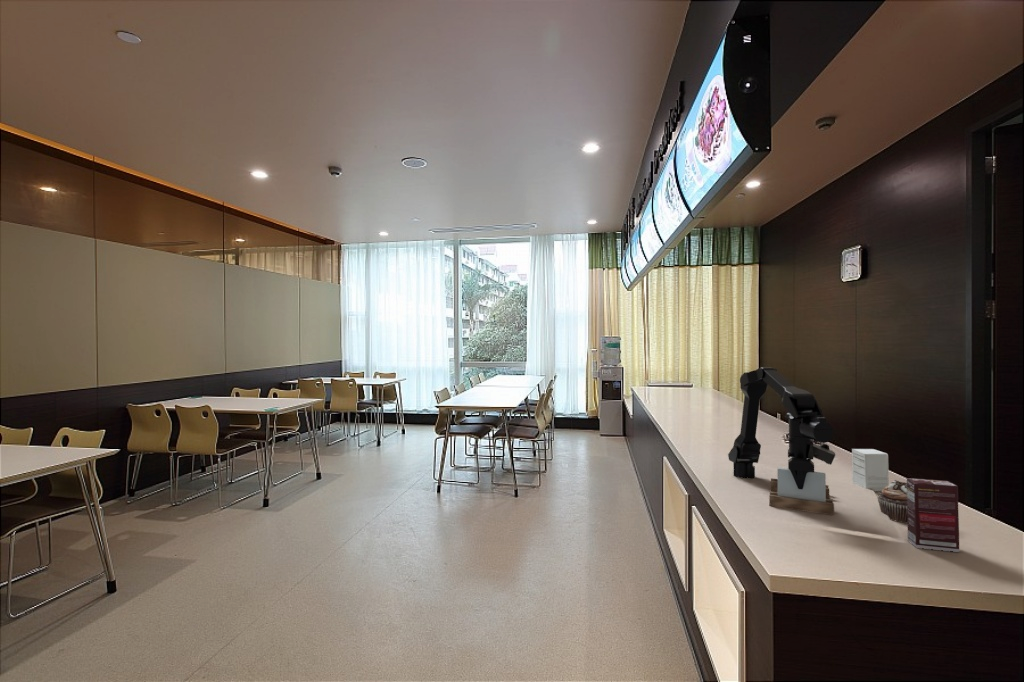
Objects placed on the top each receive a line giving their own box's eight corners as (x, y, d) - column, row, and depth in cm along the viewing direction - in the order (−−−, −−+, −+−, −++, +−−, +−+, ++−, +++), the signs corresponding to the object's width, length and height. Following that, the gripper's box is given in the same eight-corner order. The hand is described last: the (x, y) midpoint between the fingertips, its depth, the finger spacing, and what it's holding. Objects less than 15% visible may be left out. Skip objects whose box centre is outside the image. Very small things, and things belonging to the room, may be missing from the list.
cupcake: (880, 508, 140) (880, 475, 140) (923, 517, 134) (923, 482, 134) (874, 517, 134) (874, 482, 134) (919, 526, 127) (919, 489, 127)
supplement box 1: (874, 485, 163) (874, 448, 163) (889, 492, 155) (889, 453, 155) (851, 484, 163) (851, 448, 163) (865, 491, 156) (865, 453, 156)
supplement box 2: (948, 544, 116) (948, 480, 116) (960, 553, 111) (959, 486, 111) (905, 540, 119) (905, 477, 118) (915, 548, 114) (914, 482, 114)
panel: (777, 502, 141) (777, 468, 141) (777, 500, 143) (777, 467, 143) (825, 509, 135) (825, 474, 135) (825, 507, 137) (825, 472, 137)
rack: (769, 508, 141) (769, 495, 141) (771, 490, 158) (770, 478, 158) (834, 518, 133) (834, 504, 133) (828, 497, 150) (828, 485, 150)
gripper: (836, 444, 127) (836, 502, 127) (830, 432, 143) (830, 483, 143) (788, 440, 132) (788, 495, 132) (787, 429, 148) (787, 478, 149)
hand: (800, 488), depth 139 cm, fingers closed on panel, 2 cm apart
